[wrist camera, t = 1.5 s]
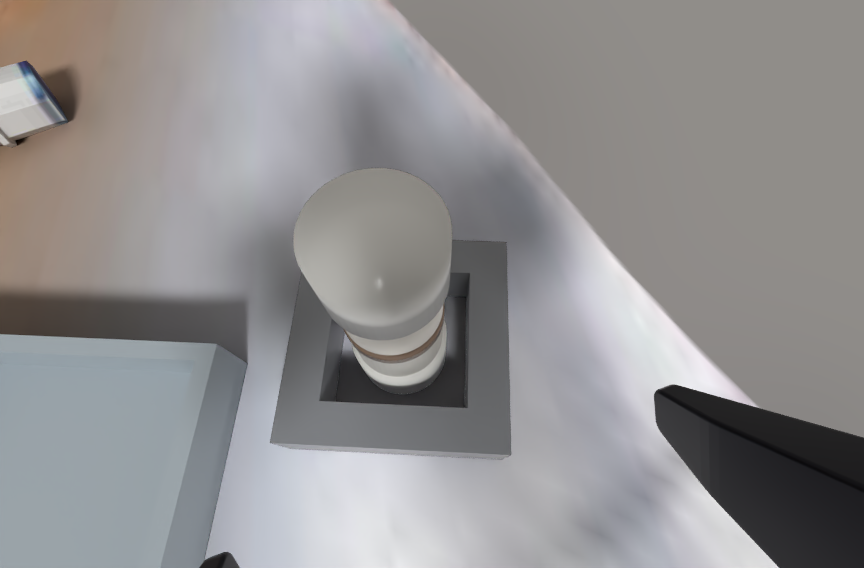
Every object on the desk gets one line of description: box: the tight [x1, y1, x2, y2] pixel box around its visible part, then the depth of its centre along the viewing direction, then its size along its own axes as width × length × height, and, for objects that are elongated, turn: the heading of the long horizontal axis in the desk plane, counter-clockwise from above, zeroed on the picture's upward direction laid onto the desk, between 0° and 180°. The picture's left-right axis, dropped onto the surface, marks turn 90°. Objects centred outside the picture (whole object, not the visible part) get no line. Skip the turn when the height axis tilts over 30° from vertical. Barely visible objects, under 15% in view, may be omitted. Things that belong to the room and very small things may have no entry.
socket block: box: [270, 240, 511, 460], centre depth 22 cm, size 10×10×3 cm
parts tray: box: [0, 334, 247, 568], centre depth 18 cm, size 18×14×4 cm
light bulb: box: [293, 168, 452, 394], centre depth 18 cm, size 4×4×12 cm
